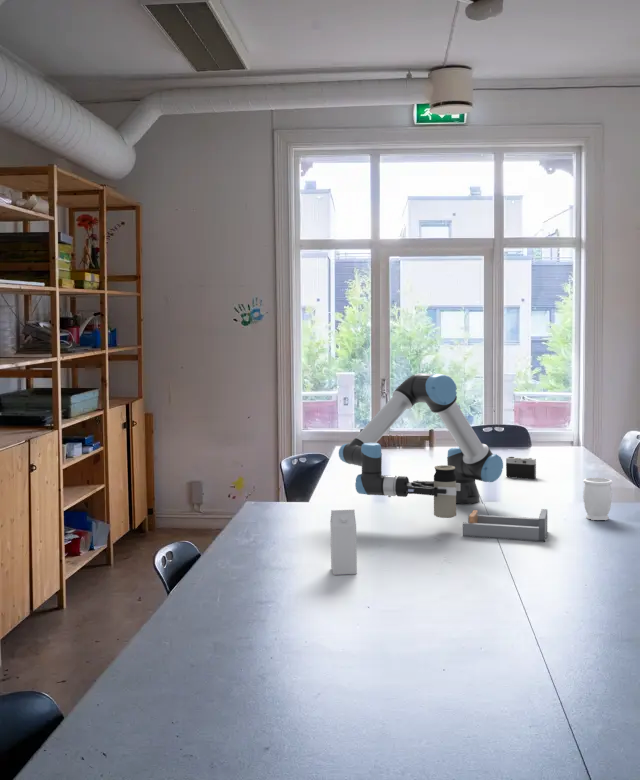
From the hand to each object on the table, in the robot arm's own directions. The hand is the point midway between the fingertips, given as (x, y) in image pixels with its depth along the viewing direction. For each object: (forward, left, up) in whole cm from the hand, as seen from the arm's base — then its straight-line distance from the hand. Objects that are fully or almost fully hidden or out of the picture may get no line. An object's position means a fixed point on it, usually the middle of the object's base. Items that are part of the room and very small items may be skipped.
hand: (458, 489), depth 284 cm
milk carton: (+58, -25, -16) cm, 65 cm away
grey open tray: (0, +17, -15) cm, 23 cm away
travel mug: (0, -5, -10) cm, 11 cm away
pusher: (0, +5, -14) cm, 16 cm away
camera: (-115, +13, -16) cm, 116 cm away
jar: (-32, +48, -16) cm, 60 cm away
